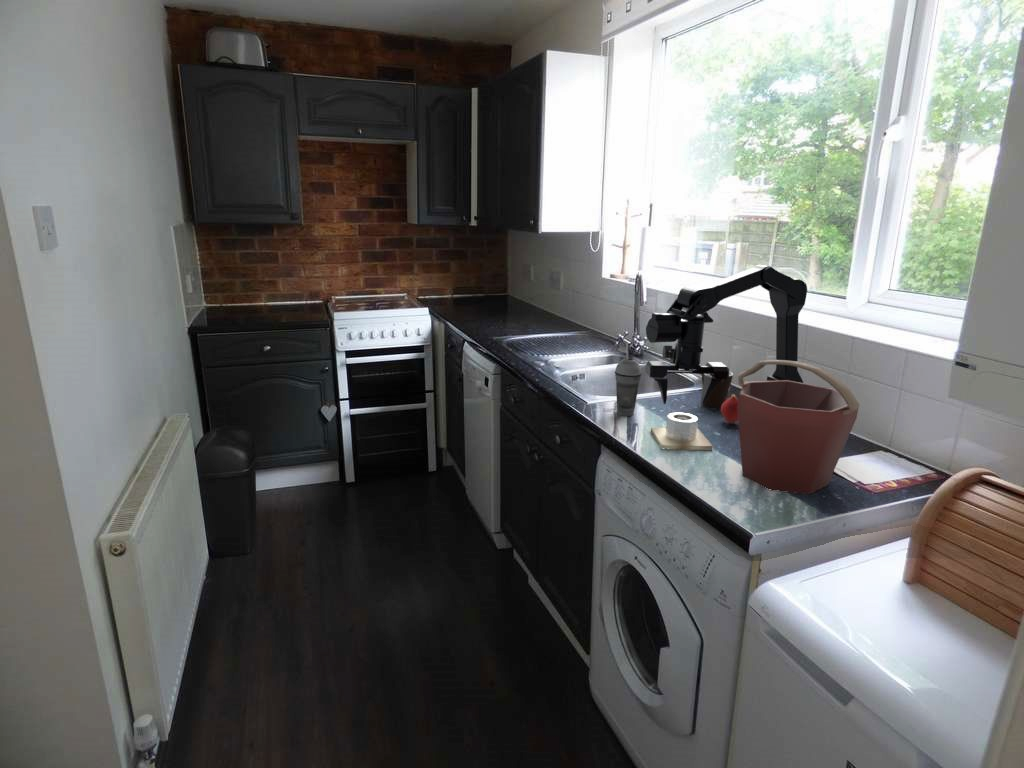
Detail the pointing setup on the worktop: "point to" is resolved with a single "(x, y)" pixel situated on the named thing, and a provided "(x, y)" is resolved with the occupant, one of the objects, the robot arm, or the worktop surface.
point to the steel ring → (681, 427)
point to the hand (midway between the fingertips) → (683, 403)
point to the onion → (730, 409)
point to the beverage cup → (627, 384)
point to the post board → (696, 444)
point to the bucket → (793, 429)
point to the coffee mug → (718, 393)
